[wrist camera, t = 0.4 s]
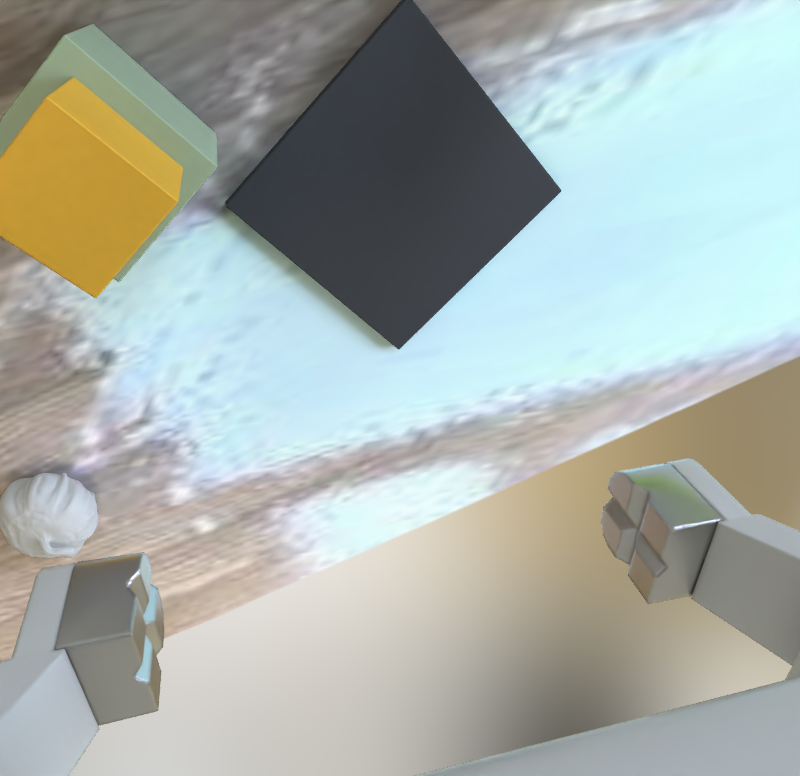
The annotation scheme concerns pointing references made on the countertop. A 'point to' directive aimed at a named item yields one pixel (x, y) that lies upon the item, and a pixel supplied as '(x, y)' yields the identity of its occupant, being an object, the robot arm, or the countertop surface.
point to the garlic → (48, 515)
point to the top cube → (83, 187)
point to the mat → (396, 180)
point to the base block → (122, 110)
